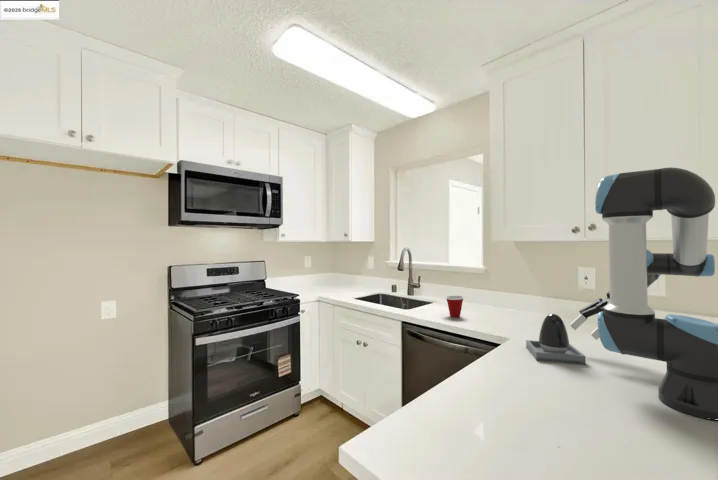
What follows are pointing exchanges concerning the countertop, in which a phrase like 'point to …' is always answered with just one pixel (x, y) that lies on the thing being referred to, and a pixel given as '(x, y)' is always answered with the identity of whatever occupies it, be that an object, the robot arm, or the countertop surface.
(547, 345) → the black egg-shaped dome
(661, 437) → the countertop surface
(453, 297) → the plastic cup
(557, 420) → the countertop surface
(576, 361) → the tray
